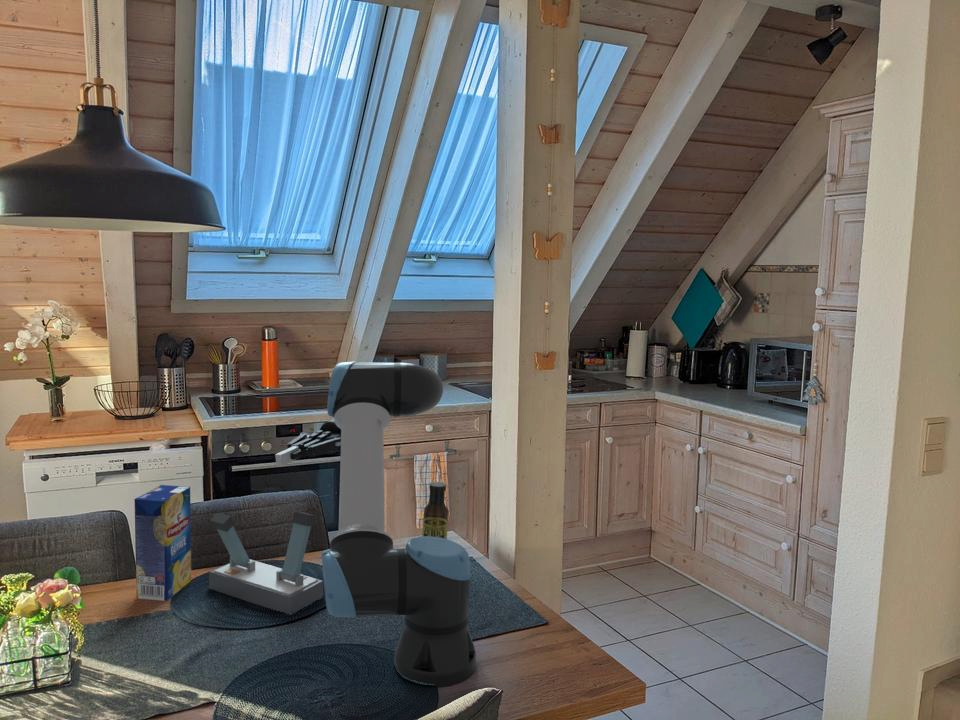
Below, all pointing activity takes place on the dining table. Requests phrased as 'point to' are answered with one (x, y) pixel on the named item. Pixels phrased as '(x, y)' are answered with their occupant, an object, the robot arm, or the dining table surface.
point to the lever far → (230, 539)
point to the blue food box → (162, 542)
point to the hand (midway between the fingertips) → (278, 460)
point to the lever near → (297, 545)
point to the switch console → (265, 586)
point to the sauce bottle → (436, 512)
